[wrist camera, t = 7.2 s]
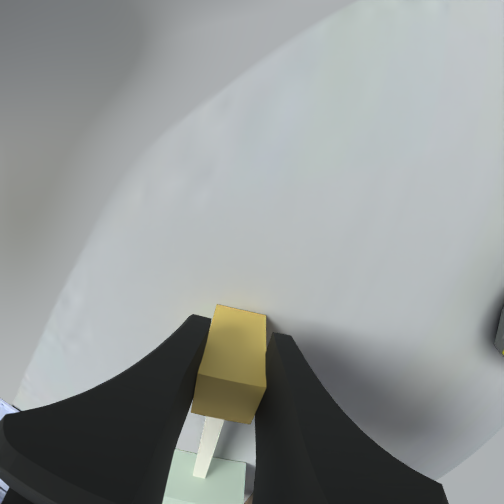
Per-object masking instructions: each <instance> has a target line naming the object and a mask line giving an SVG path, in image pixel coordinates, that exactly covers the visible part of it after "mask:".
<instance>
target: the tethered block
mask: <svg viewBox="0 0 504 504" xmlns="http://www.w3.org/2000/svg"><path fill="white" fill-rule="evenodd" d="M265 353H266V315H262V314H258V313H253V312H249V311H244V310H240V309H235V308H231V307H227V306H222V305H218V304H217V306H216V309H215V313H214V316H213V320H212V323H211V327H210V330H209V334H208V339H207V343H206V347H205V351H204V354H203V358H202V361H201V364H200V366H199V370H198V374H197V380H196V385H195V391H194V397H193V403H192V409H191V413H195V414H199V415H204V416H206V420H205V424H204V428H203V432H202V437H201V441H200V445H199V449H198V454H195V453H191V452H186V451H182V450H178V449H175V451H174V454H173V459H172V463H171V467H170V471H169V476H168V480H167V484H166V489H165V493H164V498H163V502H162V504H243V503H244V487H245V472H246V463H245V462H238V461H231V460H225V459H220V458H214V457H212V456H213V453H214V450H215V447H216V444H217V441H218V438H219V435H220V432H221V429H222V426H223V423H224V420H228V421H233V422H239V423H245V424H251V422H252V420H253V417H254V415H255V413H256V411H257V408H258V406H259V404H260V401H261V399H262V397H263V394H264V392H265V390H266V375H265Z"/></svg>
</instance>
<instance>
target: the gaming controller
mask: <svg viewBox="0 0 504 504" xmlns="http://www.w3.org/2000/svg"><path fill="white" fill-rule="evenodd" d="M494 345H495V347H496V348H497V349H498V351H499V352H500V353H501V354H502V355H503V356H504V307H503V309H502V312H501V317H500V322H499V326H498V331H497V335H496V339H495V342H494Z"/></svg>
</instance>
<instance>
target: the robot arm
mask: <svg viewBox="0 0 504 504" xmlns="http://www.w3.org/2000/svg"><path fill="white" fill-rule="evenodd" d="M210 324H211V318H207V317H202V316H198V315H194V314H193V315H191V316H189V317H188V318H187V320H186V321H185V322H184V323H183V324H182V325H181V326H180V327H179V328H178V329H177V330H176V331H175V332H174V333H173V334H172V335H171V336H170V337H168V338H167V339H166V340H165V341H164V342H163V343H162V344H160V345H159V346H158V347H157V348H156V349H155V350H153V351H152V352H151V353H149V354H148V355H147V356H145V357H144V358H143V359H141V360H140V361H139V362H137V363H136V364H134V365H133V366H131V367H130V368H128V369H127V370H125V371H124V372H122V373H120V374H118V375H117V376H115V377H113V378H112V379H110V380H108V381H106V382H104V383H102V384H100V385H98V386H96V387H94V388H92V389H90V390H88V391H85V392H83V393H81V394H78V395H76V396H73V397H70V398H67V399H65V400H62V401H59V402H56V403H53V404H50V405H47V406H43V407H39V408H34V409H30V410H25V411H21V412H20V411H18V410H17V409H15V408H14V407H12V406H11V405H10V404H8V403H7V402H5V401H4V400H2V399H1V398H0V504H162V502H163V498H164V493H165V489H166V484H167V480H168V476H169V471H170V467H171V463H172V459H173V454H174V451H175V447H176V444H177V441H178V438H179V435H180V433H181V430H182V427H183V425H184V422H185V419H186V416H187V414H188V411H189V408H190V406H191V403H192V400H193V397H194V391H195V385H196V380H197V374H198V370H199V366H200V364H201V361H202V358H203V354H204V351H205V347H206V343H207V339H208V334H209V329H210ZM265 375H266V390H265V392H264V394H263V397H262V399H261V401H260V404H259V406H258V408H257V411H256V413H255V435H256V471H255V481H254V491H253V500H252V504H449V503H448V500H447V498H446V495H445V492H444V489H443V486H442V484H440V483H438V482H436V481H434V480H432V479H430V478H428V477H426V476H424V475H422V474H420V473H419V472H417V471H415V470H413V469H411V468H410V467H408V466H407V465H405V464H404V463H402V462H401V461H399V460H398V459H396V458H395V457H393V456H392V455H391V454H389V453H388V452H387V451H385V450H384V449H383V448H381V447H380V446H379V445H378V444H377V443H375V442H374V441H373V440H372V439H371V438H369V437H368V436H367V435H366V434H365V433H364V432H363V431H362V430H361V429H360V428H359V427H358V426H357V425H356V424H355V423H354V422H353V421H352V420H351V419H350V418H349V417H348V416H347V415H346V414H345V413H344V412H343V411H342V409H341V408H340V407H339V406H338V405H337V404H336V402H335V401H334V400H333V398H332V397H331V396H330V395H329V393H328V392H327V391H326V389H325V388H324V387H323V385H322V384H321V383H320V381H319V380H318V378H317V377H316V375H315V374H314V372H313V371H312V369H311V368H310V366H309V365H308V363H307V361H306V360H305V358H304V356H303V355H302V353H301V351H300V350H299V348H298V346H297V345H296V343H295V342H294V340H293V338H292V337H291V336H290V335H285V334H279V333H274V332H273V333H272V336H271V339H270V342H269V345H268V348H267V350H266V353H265Z"/></svg>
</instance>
